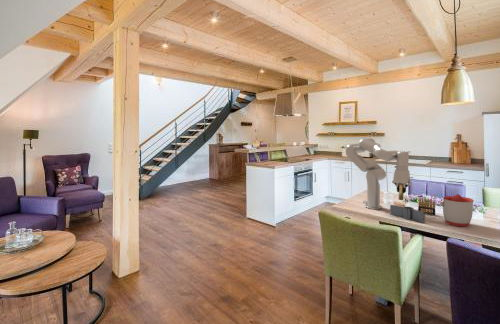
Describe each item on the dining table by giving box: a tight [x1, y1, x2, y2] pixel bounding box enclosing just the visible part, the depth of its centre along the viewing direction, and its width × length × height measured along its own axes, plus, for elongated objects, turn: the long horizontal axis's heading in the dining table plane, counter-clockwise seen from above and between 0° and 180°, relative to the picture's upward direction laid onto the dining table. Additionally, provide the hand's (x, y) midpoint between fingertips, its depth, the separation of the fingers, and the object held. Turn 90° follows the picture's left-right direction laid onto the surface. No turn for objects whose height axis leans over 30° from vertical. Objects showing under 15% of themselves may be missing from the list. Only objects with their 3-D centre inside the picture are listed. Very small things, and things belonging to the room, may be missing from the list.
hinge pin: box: [398, 183, 405, 201], centre depth 192 cm, size 3×3×14 cm
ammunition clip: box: [417, 197, 436, 216], centre depth 191 cm, size 11×2×12 cm, turn 46°
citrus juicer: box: [439, 193, 474, 227], centre depth 168 cm, size 16×17×20 cm
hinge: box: [389, 204, 425, 224], centre depth 183 cm, size 23×8×8 cm, turn 37°
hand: (401, 192), depth 192 cm, fingers closed on hinge pin, 3 cm apart
